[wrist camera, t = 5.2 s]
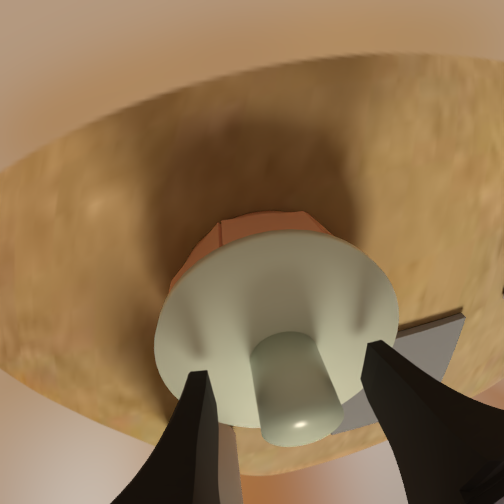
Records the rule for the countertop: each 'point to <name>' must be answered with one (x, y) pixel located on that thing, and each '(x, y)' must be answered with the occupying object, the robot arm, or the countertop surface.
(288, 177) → the countertop surface
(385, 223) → the countertop surface
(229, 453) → the beverage can
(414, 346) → the mat
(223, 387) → the lid
